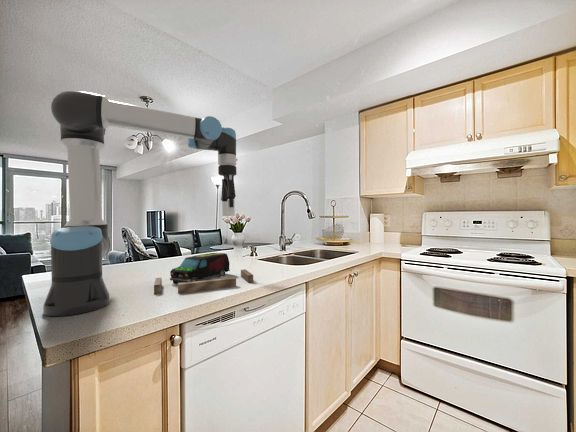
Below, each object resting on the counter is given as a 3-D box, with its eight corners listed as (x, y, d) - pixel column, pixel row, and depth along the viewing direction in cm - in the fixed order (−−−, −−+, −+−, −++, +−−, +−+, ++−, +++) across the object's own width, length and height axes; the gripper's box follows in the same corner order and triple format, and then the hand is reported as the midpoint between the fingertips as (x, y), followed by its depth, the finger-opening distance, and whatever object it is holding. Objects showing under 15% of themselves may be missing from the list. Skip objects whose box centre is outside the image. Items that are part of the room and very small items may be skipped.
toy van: (168, 284, 103) (168, 259, 103) (213, 272, 125) (213, 251, 125) (188, 287, 98) (187, 260, 98) (231, 274, 120) (230, 252, 120)
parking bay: (153, 296, 87) (153, 287, 87) (155, 285, 101) (155, 277, 101) (255, 284, 101) (255, 276, 101) (245, 276, 115) (245, 269, 115)
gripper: (242, 160, 101) (243, 215, 101) (230, 171, 124) (231, 216, 124) (223, 159, 99) (223, 215, 99) (214, 170, 122) (215, 216, 122)
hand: (228, 216), depth 111 cm, fingers open, 13 cm apart
